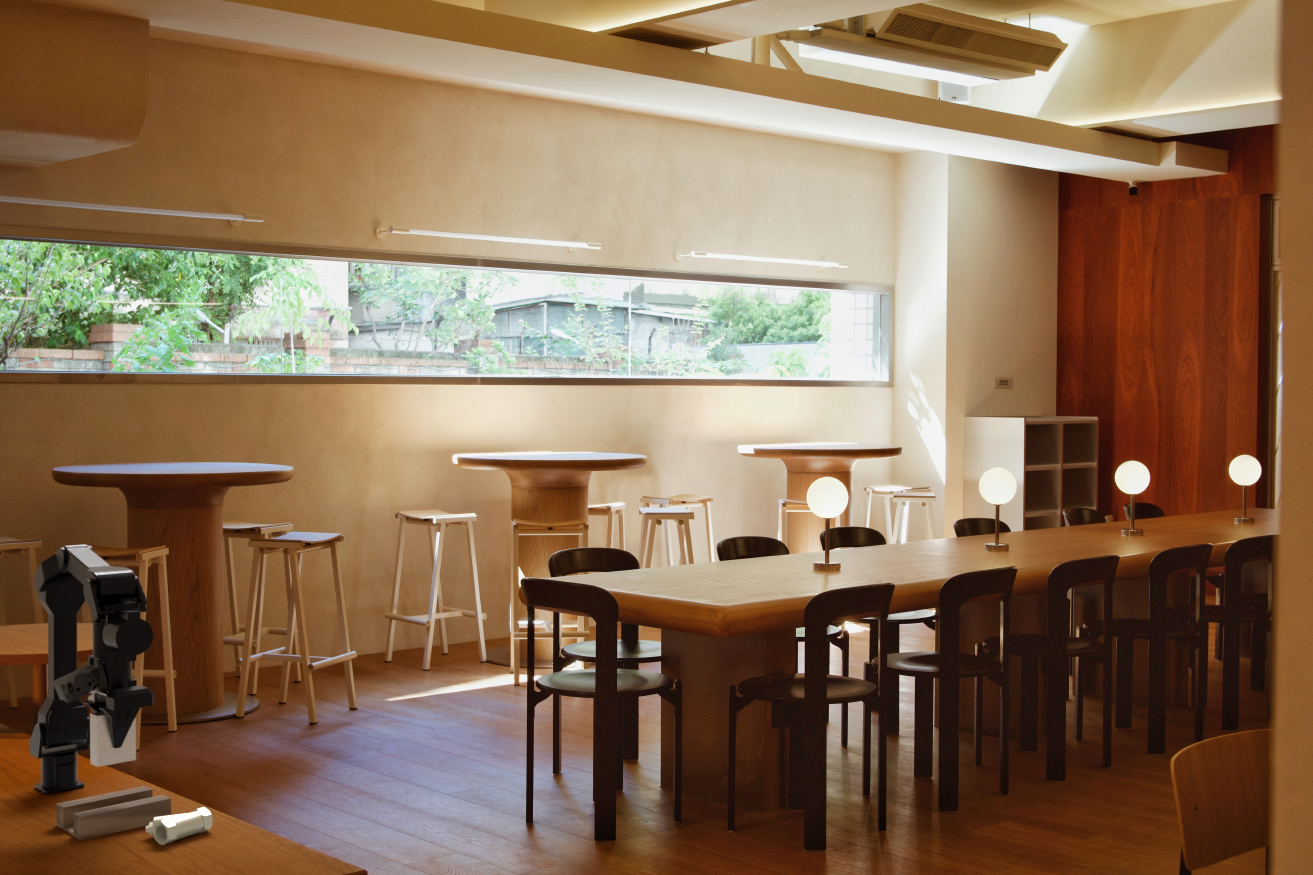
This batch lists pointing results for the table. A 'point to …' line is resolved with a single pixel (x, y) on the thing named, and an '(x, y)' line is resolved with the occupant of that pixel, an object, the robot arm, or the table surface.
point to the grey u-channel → (111, 812)
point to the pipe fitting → (179, 825)
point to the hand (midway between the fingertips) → (113, 745)
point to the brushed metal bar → (109, 742)
